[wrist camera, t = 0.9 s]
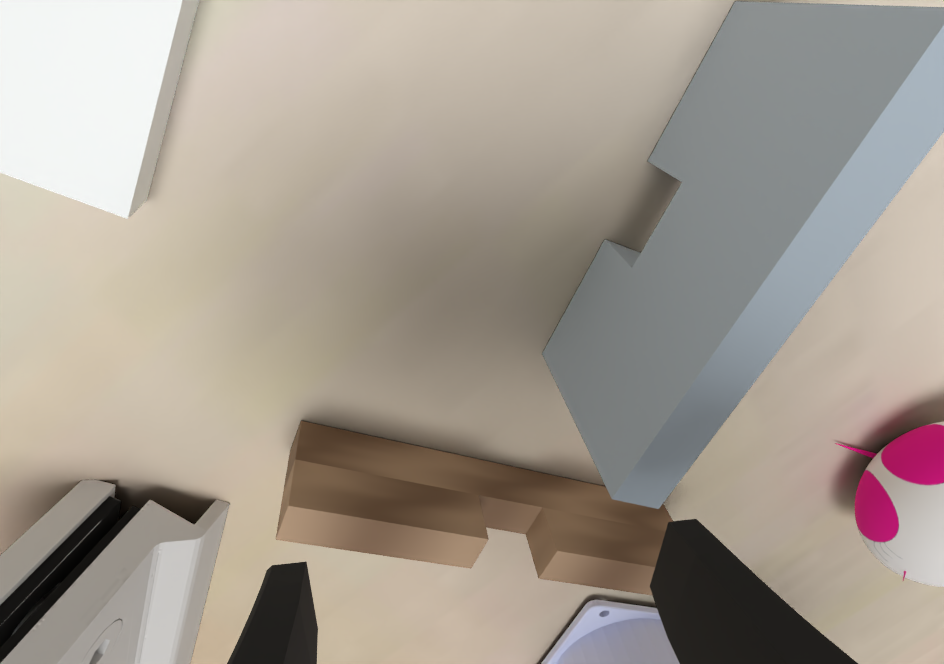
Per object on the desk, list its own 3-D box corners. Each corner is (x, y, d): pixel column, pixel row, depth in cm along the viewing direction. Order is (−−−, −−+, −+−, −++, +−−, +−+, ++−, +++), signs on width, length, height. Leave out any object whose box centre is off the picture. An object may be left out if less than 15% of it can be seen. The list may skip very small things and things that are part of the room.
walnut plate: (659, 498, 26) (704, 575, 22) (642, 521, 26) (683, 599, 23) (300, 420, 21) (288, 505, 17) (290, 451, 21) (275, 539, 18)
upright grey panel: (775, 25, 16) (1008, 45, 10) (577, 364, 21) (658, 509, 15) (735, 1, 16) (956, 8, 10) (541, 353, 21) (611, 499, 15)
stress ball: (867, 348, 28) (910, 393, 22) (1044, 437, 26) (1143, 513, 20) (774, 466, 31) (789, 535, 25) (927, 554, 29) (984, 651, 23)
